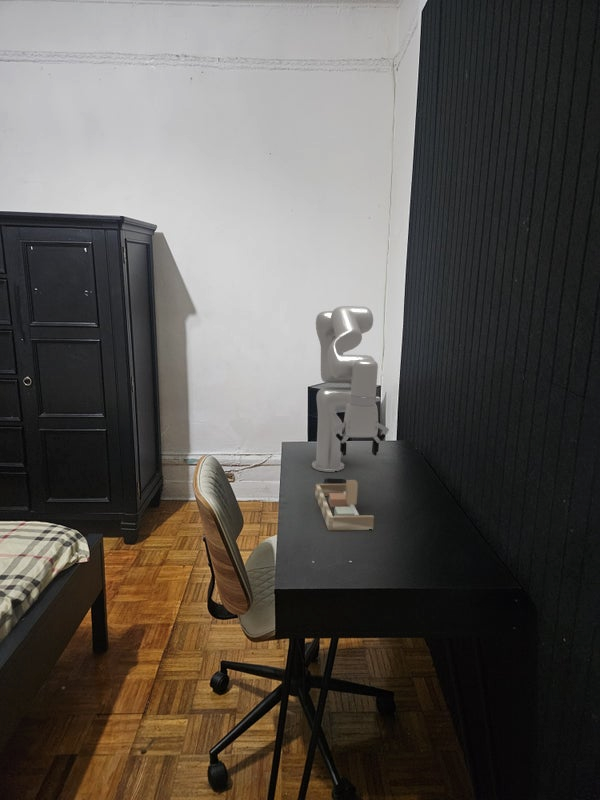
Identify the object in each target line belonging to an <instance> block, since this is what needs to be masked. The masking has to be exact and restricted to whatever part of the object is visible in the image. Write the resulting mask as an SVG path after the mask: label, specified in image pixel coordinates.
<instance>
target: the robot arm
mask: <svg viewBox="0 0 600 800" xmlns="http://www.w3.org/2000/svg"><path fill="white" fill-rule="evenodd" d="M373 326H374V315H373V313H372V310H371V309H370V308H368V307H366V306H358V305H357V306H356V305H355V306H352V305H350V306H349V305H343V306H342V305H341V306H338V307H336V308H334V309H333V310H326V311H325V310H324V311H321V312H319V313H318V314H317V315H316V319H315V329H316V334H317V338H318V341H319V345H320V378H321V380H322V382H324V383H327V384H348V385H349V386H326V387H322V388H320V389H319V390H318V391H317V393H316V406H317V407H316V408H317V433H316V457H315V460H313V461H312V463H311V467H312V468H313V469H314V470H317V471H320V472H325V473H334V472H335V471H337V472H341V471H342V469H343V470H344V469H345V464H344V463H343V462H342V461H341V457H342V456H346V455H347V441H348V439H349V438H373V440H372V445H371V446H372V447H371V453H372V455H373V456H377V455H378V454H377V453H379V447H380V446H379V445H380V443H381V442H382V440H384V439H385V438H386V435H387V434H388V433H389V429H390V428H388V427H387V426H385V425H383V424H381V423H379V412H378V405H377V404H376V403H377V402H380V401H381V397H380V396H377V394H376V393H377V383H378V381H377V380H378V373H379V372H378V370H379V364H378V362H377V361H376V360H375V359H374V357H373V356H371V355H367V354H344V353H346V352H349V351H351V350H354V349H355V348H357V347H358V346H360V344H362V343H361V342H362V340H363V334H365V333H367V332H369V331H371V329H372V327H373ZM337 413H344V418H343V420H342V419H341V418H340V417H339V416H338V414H337ZM342 421H343V422H342ZM379 430H382V431H381V433H380V434H378V433H379ZM340 470H341V471H340ZM335 473H336V472H335Z"/></svg>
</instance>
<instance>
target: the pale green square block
mask: <svg viewBox="0 0 600 800" xmlns="http://www.w3.org/2000/svg"><path fill="white" fill-rule="evenodd" d="M333 516H354V512H353V510H352V508H351V507H335V508H334V511H333Z"/></svg>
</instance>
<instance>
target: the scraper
mask: <svg viewBox="0 0 600 800" xmlns="http://www.w3.org/2000/svg"><path fill="white" fill-rule="evenodd" d="M345 480H346V492H343V493H344V495H345V501H346V507H351V508H352V510H353V512H354V515H360V514H359V512H358V510H357V509H356V506H355V505H357V502H358V501H357V500H358V485H359V484H358V482H357V480H356V479H345Z"/></svg>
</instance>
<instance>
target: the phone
mask: <svg viewBox="0 0 600 800" xmlns="http://www.w3.org/2000/svg"><path fill="white" fill-rule="evenodd" d="M346 480H347V479H346V478H345V479H344V478H324V481H323V482H324V483H323V484H346ZM327 497H329V495H328V496H327Z"/></svg>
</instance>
